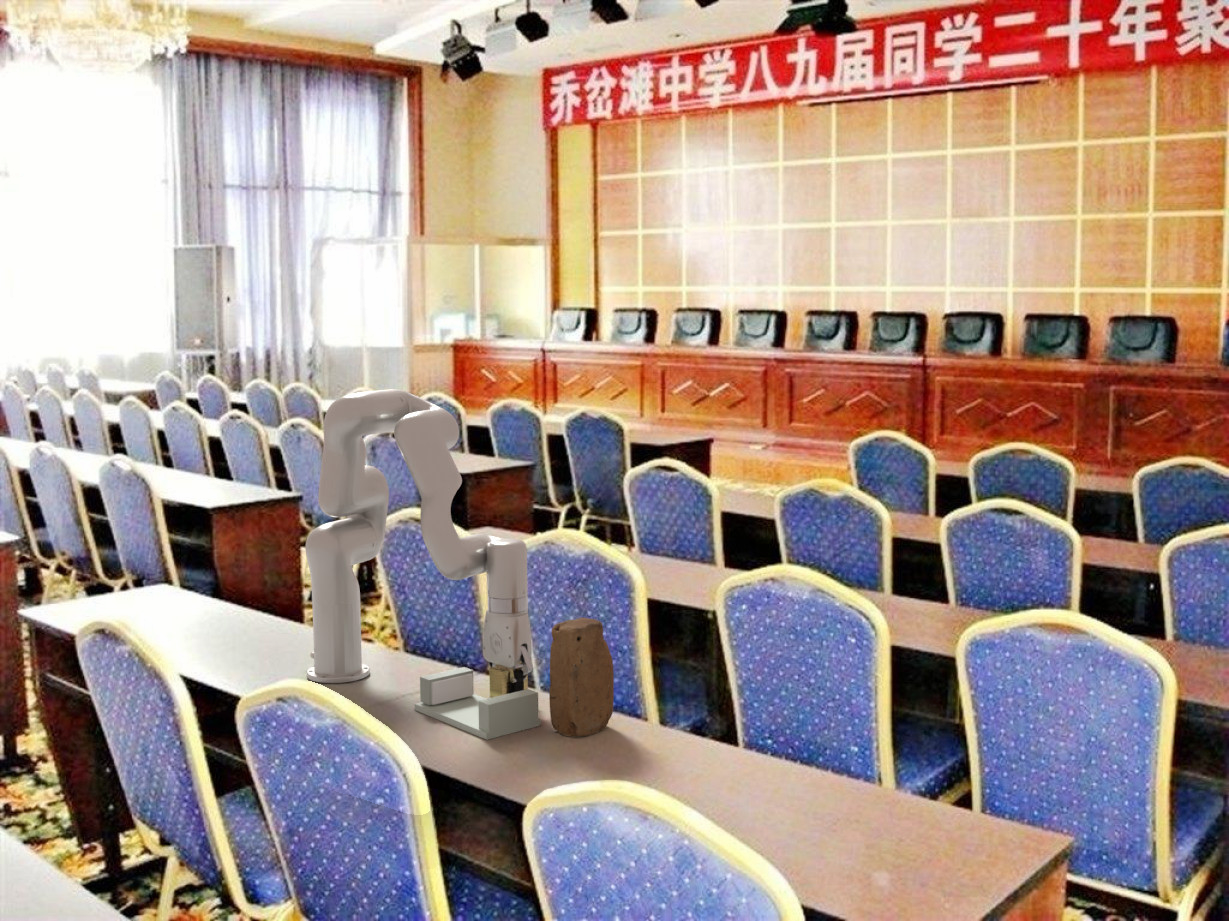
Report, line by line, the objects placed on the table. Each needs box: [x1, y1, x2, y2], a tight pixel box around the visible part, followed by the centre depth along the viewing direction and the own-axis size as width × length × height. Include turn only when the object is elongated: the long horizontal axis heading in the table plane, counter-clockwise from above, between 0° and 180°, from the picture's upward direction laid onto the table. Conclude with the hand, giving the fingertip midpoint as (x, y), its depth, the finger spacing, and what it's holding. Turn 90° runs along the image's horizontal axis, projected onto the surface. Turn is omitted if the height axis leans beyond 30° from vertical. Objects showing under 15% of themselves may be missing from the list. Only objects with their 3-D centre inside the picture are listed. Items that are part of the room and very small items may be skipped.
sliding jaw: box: [419, 666, 475, 705], centre depth 261 cm, size 4×10×5 cm, turn 131°
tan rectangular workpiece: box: [488, 663, 529, 698], centre depth 263 cm, size 4×6×7 cm, turn 131°
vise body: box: [414, 688, 542, 741], centre depth 254 cm, size 23×12×6 cm, turn 41°
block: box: [548, 616, 615, 738], centre depth 246 cm, size 11×8×20 cm
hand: (508, 697), depth 264 cm, fingers closed on tan rectangular workpiece, 4 cm apart
